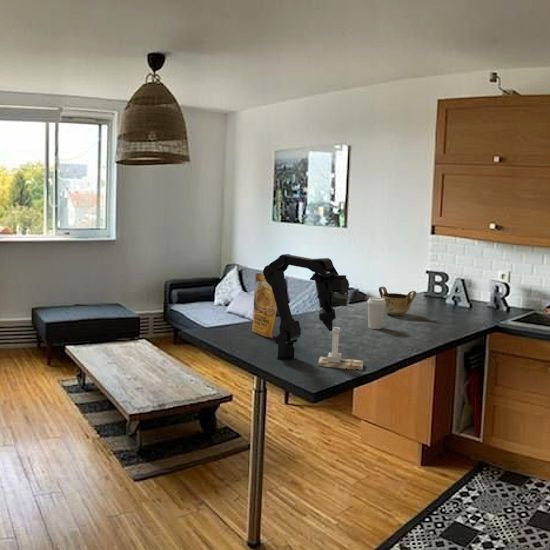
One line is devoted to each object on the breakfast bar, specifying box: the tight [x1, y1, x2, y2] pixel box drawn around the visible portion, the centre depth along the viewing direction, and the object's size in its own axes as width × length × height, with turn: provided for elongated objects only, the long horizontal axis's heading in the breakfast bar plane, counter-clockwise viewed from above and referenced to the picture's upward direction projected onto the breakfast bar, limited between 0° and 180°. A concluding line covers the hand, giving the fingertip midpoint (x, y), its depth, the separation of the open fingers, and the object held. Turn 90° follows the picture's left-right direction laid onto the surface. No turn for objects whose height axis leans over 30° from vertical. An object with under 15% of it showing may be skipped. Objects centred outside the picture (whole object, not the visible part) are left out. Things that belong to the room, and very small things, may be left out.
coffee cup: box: [366, 296, 386, 330], centre depth 311 cm, size 10×10×15 cm
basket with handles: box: [378, 286, 417, 317], centre depth 346 cm, size 22×17×15 cm
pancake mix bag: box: [251, 272, 278, 338], centre depth 287 cm, size 7×19×28 cm, turn 36°
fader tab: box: [326, 326, 342, 363], centre depth 244 cm, size 5×7×13 cm
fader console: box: [317, 356, 364, 371], centre depth 245 cm, size 18×8×2 cm, turn 80°
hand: (331, 325), depth 243 cm, fingers open, 9 cm apart
